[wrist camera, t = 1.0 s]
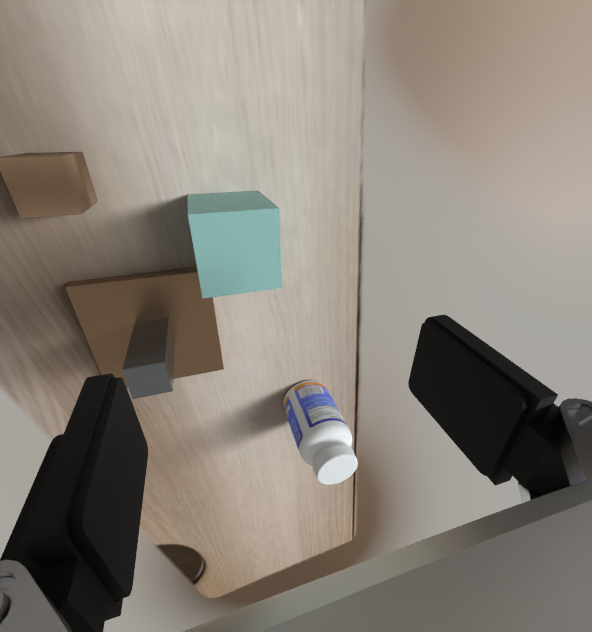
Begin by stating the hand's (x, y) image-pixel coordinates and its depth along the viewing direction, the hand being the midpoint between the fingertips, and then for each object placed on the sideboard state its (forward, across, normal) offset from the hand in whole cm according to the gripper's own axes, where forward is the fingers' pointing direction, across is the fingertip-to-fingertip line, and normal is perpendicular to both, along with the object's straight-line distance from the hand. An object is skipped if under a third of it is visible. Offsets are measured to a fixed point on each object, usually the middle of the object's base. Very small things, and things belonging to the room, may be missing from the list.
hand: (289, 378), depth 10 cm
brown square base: (+18, +7, +8) cm, 21 cm away
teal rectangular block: (+18, 0, 0) cm, 18 cm away
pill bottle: (+18, -7, +20) cm, 28 cm away
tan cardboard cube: (+18, +10, -4) cm, 21 cm away
